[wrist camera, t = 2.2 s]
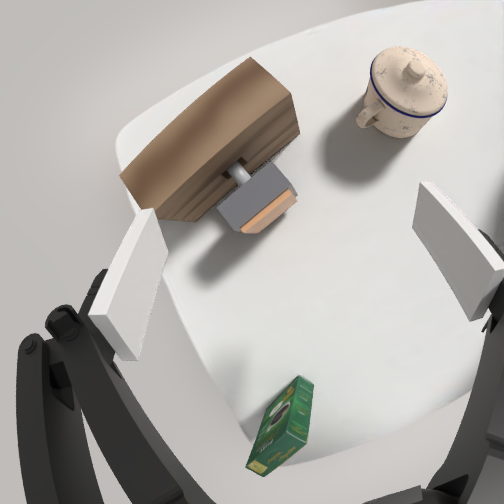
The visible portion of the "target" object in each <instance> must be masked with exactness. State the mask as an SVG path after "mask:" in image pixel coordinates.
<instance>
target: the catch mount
mask: <svg viewBox="0 0 504 504" xmlns="http://www.w3.org/2000/svg"><path fill="white" fill-rule="evenodd" d="M299 134H300V130H299V126H298V121H297V117H296V113H295V108H294V104H293V100H292V96H291V93H290V92H289V91H288V90H287V89H286V88H285V87H284V86H283V85H282V84H281V83H280V82H279V81H277V80H276V79H275V78H274V77H273V76H272V75H271V74H270V73H269V72H267V71H266V70H265V69H264V68H263V67H262V66H261V65H259V64H258V63H257V62H256V61H255V60H254V59H252V58H251V57H249V58H248V59H246V60H245V61H244V62H242V63H241V64H240V65H238V66H237V67H236V68H234V69H233V70H232V71H231V72H229V73H228V74H227V75H226V76H224V77H223V78H222V79H220V80H219V81H218V82H217V83H216V84H214V85H213V86H212V87H211V88H209V89H208V90H207V91H206V92H205V93H204V94H202V95H201V96H200V97H199V98H198V99H197V100H195V101H194V102H193V103H192V104H191V105H190V106H189V107H187V108H186V109H185V110H184V111H183V112H182V113H181V114H180V115H179V116H177V117H176V118H175V119H174V120H173V121H172V122H171V123H170V124H169V125H168V126H167V127H166V128H165V129H164V130H163V131H162V132H161V133H159V134H158V135H157V136H156V137H155V138H154V139H153V140H152V141H151V142H150V143H149V144H148V145H147V146H146V147H145V148H144V149H143V150H142V152H141V153H140V154H139V155H138V156H137V157H136V158H135V159H134V160H133V161H132V162H131V163H130V164H129V165H128V166H127V167H126V168H125V170H124V171H123V172H122V173H121V174H120V175H119V176H120V178H121V179H122V181H123V182H124V184H125V185H126V187H127V188H128V190H129V192H130V193H131V195H132V196H133V198H134V199H135V201H136V202H137V204H138V205H139V207H140V208H141V210H144V209H150V208H154V211H155V214H156V217H157V219H162V220H174V221H187V222H196V221H197V220H198V219H199V218H200V217H201V216H202V215H204V214H205V213H206V212H207V211H208V210H209V209H210V208H211V207H213V206H214V205H215V204H216V203H217V202H218V201H219V200H221V199H222V198H223V197H224V196H225V195H226V194H227V193H229V192H230V191H231V190H232V189H233V188H234V187H236V186H237V185H238V184H237V182H236V181H235V180H234V179H233V177H232V176H231V175H230V174H229V173H228V171H227V170H226V169H228V168H229V167H230V166H231V165H232V164H233V163H235V162H236V161H238V162H239V163H240V164H241V166H242V167H243V168H244V169H245V170H246V172H247V173H248V174H249V175H250V174H251V173H252V172H253V171H254V170H256V169H257V168H258V167H259V166H260V165H262V164H263V163H264V162H265V161H266V160H268V159H269V158H270V157H271V156H273V155H274V154H275V153H276V152H277V151H279V150H280V149H281V148H282V147H284V146H285V145H286V144H287V143H289V142H290V141H291V140H292V139H294V138H295V137H296V136H297V135H299Z"/></svg>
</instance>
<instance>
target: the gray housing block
mask: <svg viewBox="0 0 504 504" xmlns="http://www.w3.org/2000/svg"><path fill="white" fill-rule="evenodd" d="M226 170H227V171H228V173H229V174H230V175H231V176H232V177H233V179H234V180H235V181H236V182H237V184H238V185H239V186H240V188H238V189H237V190H236V191H235V192H234V193H233V194H231V195H230V196H229V197H228V198H227V199H226V200H224V201H223V202H222V203H221V204H220V205H219V206H218V207H216V208H217V210H218V211H219V212H220V214H221V215H222V216H223V217H224V219H225V220H226V221H227V223H228V224H229V225H230V226H231V228H232V229H233V230H234V231H235V232H243V233H259V232H260V231H262V230H263V229H264V228H265V227H267V226H268V225H269V224H270V223H271V222H273V221H274V220H275V219H276V218H278V217H279V216H280V215H281V214H282V213H284V212H285V211H286V210H287V209H289V208H290V207H291V206H292V205H293V204H295V203H296V202H297V200H296V198H295V197H296V196H297V193H296V191H295V189H294V188H293V186H292V184H291V183H290V182H289V181H288V179H287V178H286V177H285V176H284V175H283V174H282V172H281V171H280V170H279V169H278V168H277V167H276V166H275V164H274V163H273V162H272V161H271V162H269V163H268V164H267V165H266V166H265V167H263V168H262V169H261V170H260V171H259V172H257V173H256V174H255V175H254V176H253V177H251V176H250V175H249V174H248V173H247V172H246V170H245V169H244V168H243V167H242V166H241V164H240V163H239V162H238V161H236V162H235V163H233V164H232V165H231V166H230V167H229V168H228V169H226Z"/></svg>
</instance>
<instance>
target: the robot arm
mask: <svg viewBox="0 0 504 504" xmlns="http://www.w3.org/2000/svg"><path fill="white" fill-rule="evenodd" d="M412 228H413V230H414V231H415V233H416V234H417V235H418V237H419V238H420V240H421V241H422V243H423V244H424V246H425V247H426V249H427V250H428V252H429V253H430V255H431V256H432V258H433V260H434V261H435V263H436V264H437V266H438V267H439V269H440V271H441V272H442V274H443V276H444V277H445V279H446V281H447V282H448V284H449V286H450V287H451V289H452V291H453V292H454V294H455V296H456V298H457V299H458V301H459V303H460V305H461V307H462V309H463V310H464V312H465V314H466V316H467V318H468V320H469V322H470V321H473V320H477V319H480V318H483V316H484V314H485V312H486V311H487V309H488V308H489V310H490V312H491V313H492V314H491V316H490V317H489V319H488V321H487V322H486V324H485V326H484V327H483V329H482V331H481V332H484V331H485V329H486V328H487V331H486V336H485V341H484V346H483V350H482V355H481V359H480V363H479V367H478V371H477V375H476V378H475V382H474V385H473V389H472V392H471V395H470V398H469V402H468V405H467V408H466V411H465V413H464V416H463V419H462V422H461V424H460V427H459V430H458V432H457V435H456V437H455V440H454V442H453V444H452V447H451V449H450V451H449V454H448V456H447V458H446V460H445V462H444V464H443V465H442V466H441V468H440V469H439V470H438V471H437V472H436V474H435V475H434V476H433V478H432V479H431V481H430V483H429V484H428V486H427V488H426V489H421V486H420V485H419V486H416V487H413V488H410V489H407V490H404V491H400V492H397V493H394V494H390V495H387V496H384V497H381V498H377V499H374V500H371V501H368V502H365V503H363V504H504V254H503V253H502V252H501V251H499V248H498V247H497V246H496V245H494V242H493V241H492V240H491V238H490V237H489V236H488V235H487V234H485V233H484V232H482V231H481V230H480V229H477V228H476V227H475V226H474V225H473V224H472V223H471V221H470V220H469V219H468V218H467V217H466V216H465V215H464V214H463V213H462V212H461V210H460V209H459V208H458V207H457V206H456V205H455V204H454V203H453V202H452V201H451V200H450V199H449V198H448V197H447V196H446V195H445V194H444V193H443V192H442V191H441V190H440V189H439V188H438V187H437V186H436V185H435V184H434V183H433V182H420V185H419V192H418V198H417V204H416V209H415V215H414V220H413V225H412ZM168 253H169V252H168V249H167V246H166V244H165V241H164V238H163V235H162V232H161V229H160V226H159V223H158V220H157V217H156V214H155V211H154V208H150V209H144V210H139V212H138V213H137V215H136V217H135V219H134V221H133V223H132V224H131V226H130V228H129V230H128V232H127V234H126V236H125V238H124V240H123V242H122V243H121V245H120V247H119V249H118V251H117V253H116V255H115V257H114V259H113V261H112V263H111V266H110V267H109V269H103V270H102V271H101V272H100V273H99V274H98V275H97V276H96V277H95V279H94V281H93V283H92V285H91V289H89V291H88V293H87V296H86V298H85V300H84V302H83V304H82V306H81V309H80V311H79V313H78V314H77V313H76V311H75V310H74V309H73V307H72V306H71V305H61V306H59V307H57V308H55V309H54V310H53V311H52V312H51V313H50V314H49V316H48V317H47V319H46V322H45V328H46V329H47V330H48V332H49V333H50V334H51V335H52V337H53V338H52V339H49V340H46V341H44V340H43V338H42V337H41V336H40V335H39V334H36V333H34V334H30V335H29V336H27V337H26V338H25V339H24V340H23V341H22V342H21V344H20V346H19V350H18V360H17V361H18V362H17V380H16V382H17V383H16V418H17V435H18V448H19V458H20V466H21V473H22V479H23V486H24V491H25V496H26V501H27V504H104V502H103V499H102V496H101V492H100V489H99V486H98V482H97V479H96V476H95V472H94V468H93V464H92V460H91V456H90V452H89V448H88V443H87V439H86V434H85V429H84V424H83V418H82V413H81V409H82V411H83V414H84V416H85V418H86V421H87V423H88V425H89V427H90V429H91V431H92V433H93V435H94V437H95V440H96V442H97V444H98V446H99V447H100V449H101V451H102V453H103V455H104V457H105V459H106V461H107V463H108V464H109V466H110V468H111V470H112V471H113V473H114V475H115V477H116V478H117V480H118V482H119V483H120V485H121V487H122V488H123V490H124V492H125V493H126V494H127V496H128V498H129V499H130V501H131V502H132V504H216V503H215V502H213V500H211V499H210V497H209V496H208V495H207V494H206V493H205V492H204V491H203V490H202V488H201V487H200V486H199V485H198V484H197V483H196V481H195V480H194V479H193V478H192V477H191V475H190V474H189V473H188V472H187V470H186V469H185V468H184V467H183V465H182V464H181V463H180V462H179V460H178V459H177V458H176V456H175V455H174V454H173V452H172V451H171V450H170V448H169V447H168V446H167V444H166V443H165V441H164V440H163V439H162V437H161V436H160V434H159V433H158V431H157V430H156V429H155V427H154V426H153V424H152V423H151V421H150V420H149V418H148V417H147V415H146V414H145V412H144V411H143V409H142V408H141V406H140V404H139V403H138V401H137V400H136V398H135V397H134V395H133V393H132V391H131V390H130V388H129V386H128V385H127V383H126V381H125V379H124V378H123V376H122V374H121V372H120V371H119V369H118V367H117V365H116V364H115V363H114V361H113V358H114V354H115V353H116V354H117V355H118V356H119V358H120V359H121V360H123V361H139V357H140V353H141V348H142V345H143V341H144V337H145V333H146V329H147V325H148V321H149V318H150V314H151V311H152V307H153V303H154V300H155V296H156V293H157V289H158V286H159V283H160V279H161V276H162V273H163V269H164V266H165V263H166V260H167V257H168Z"/></svg>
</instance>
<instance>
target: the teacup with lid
mask: <svg viewBox="0 0 504 504" xmlns="http://www.w3.org/2000/svg"><path fill="white" fill-rule="evenodd" d="M446 100H447V84H446V81H445V78H444V76H443V74H442V72H441V70H440V69H439V68H438V66H437V65H436V64H435V63H434V62H433V61H432V60H431V59H430V58H428V57H427V56H426V55H424V54H422V53H421V52H419V51H416V50H414V49H411V48H406V47H392V48H388V49H386V50H384V51H382V52H381V53H379V54H378V55H377V56H376V57H375V58H374V60H373V62H372V64H371V68H370V79H369V83H368V87H367V90H366V94H365V97H364V109H363V110H362V111H361V112H360V113H359V114H358V116H357V118H356V123H357V124H358V125H359V127H361V128H368V127H370V126H371V125H374V126H375V127H376V128H377V129H378V130H380V131H381V132H383V133H384V134H386V135H389V136H392V137H396V138H406V137H410V136H412V135H414V134H416V133H417V132H418V131H419V130H420V129H421V128H422V127H423V126H424V125H425V124H426V123H427V122H428V121H429V120H430V118H431V117H432V116H434V115H436V114H437V113H439V112H440V111H441V110H442V109H443V107H444V105H445V103H446Z"/></svg>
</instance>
